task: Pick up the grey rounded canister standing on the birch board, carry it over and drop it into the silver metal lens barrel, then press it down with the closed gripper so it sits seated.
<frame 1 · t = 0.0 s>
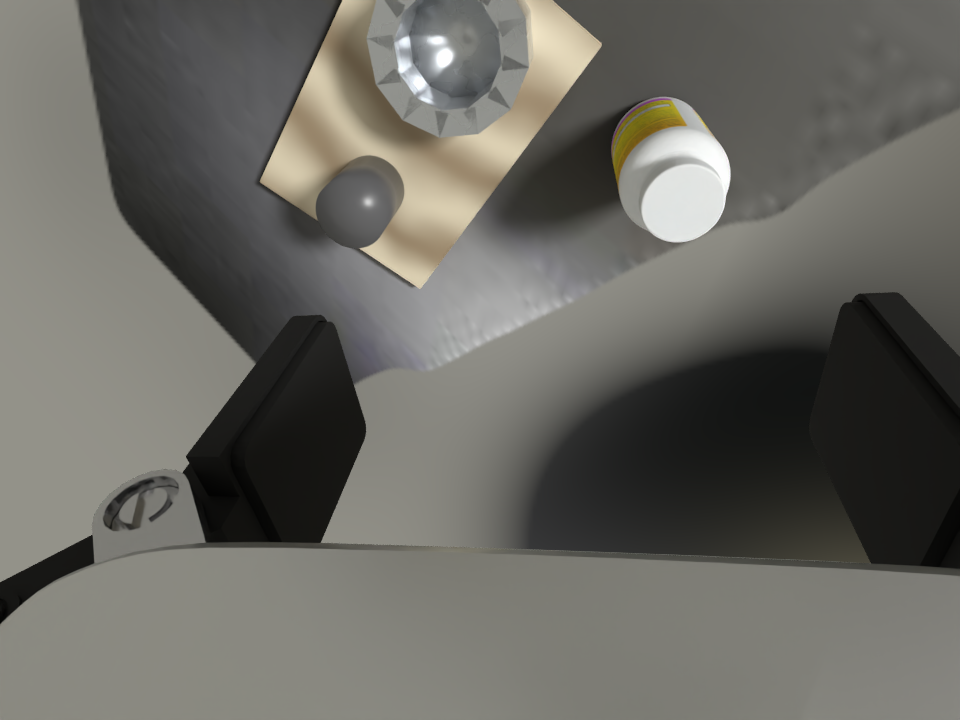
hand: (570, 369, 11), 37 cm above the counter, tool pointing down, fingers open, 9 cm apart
birch board: (416, 117, 44), on the counter
supplement bottle: (655, 141, 43), on the counter
grey rounded canister: (373, 187, 47), point 1 cm above the counter, touching birch board
lens barrel: (460, 42, 40), resting on birch board
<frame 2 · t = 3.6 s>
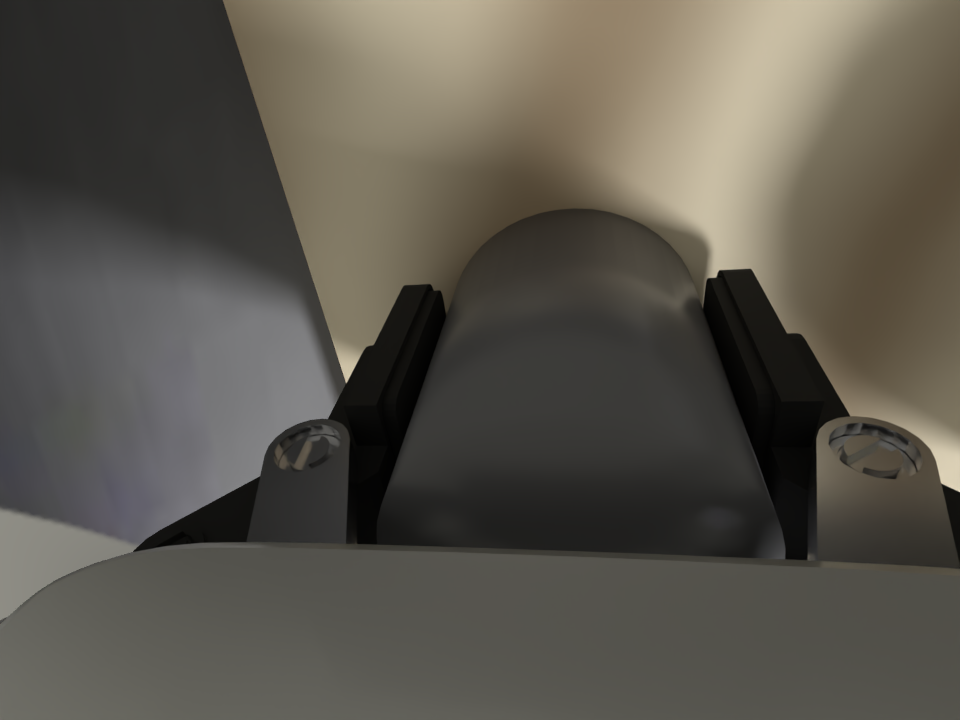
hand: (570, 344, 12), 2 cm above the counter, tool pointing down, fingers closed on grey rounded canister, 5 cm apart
birch board: (878, 283, 12), on the counter
grey rounded canister: (571, 324, 12), point 1 cm above the counter, touching birch board, gripper
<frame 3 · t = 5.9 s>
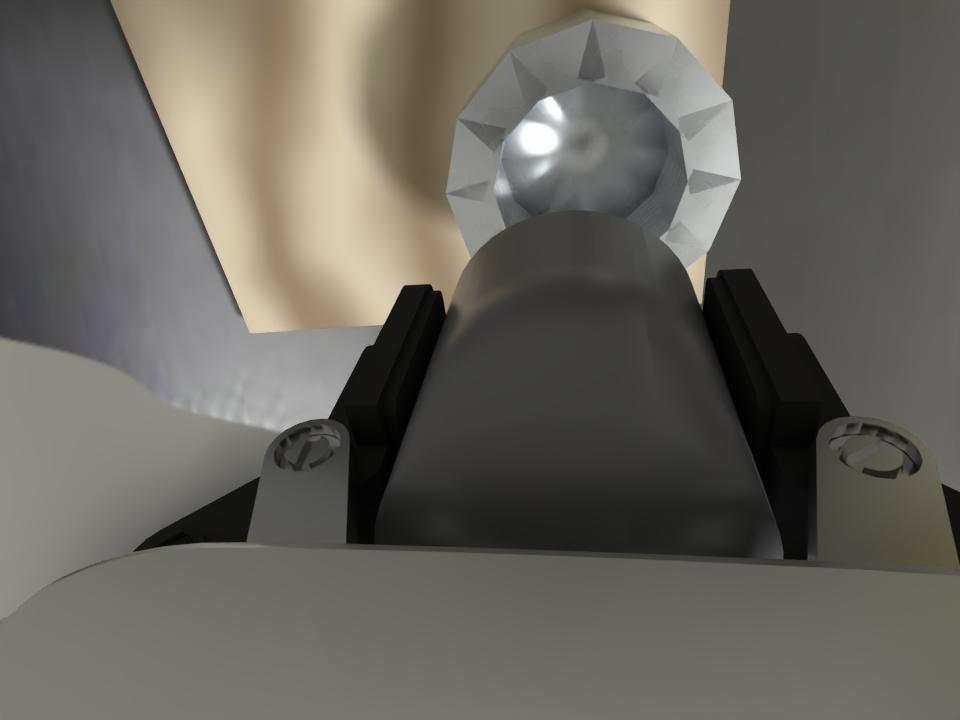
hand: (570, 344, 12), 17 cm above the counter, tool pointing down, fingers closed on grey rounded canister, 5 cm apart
birch board: (438, 157, 26), on the counter
grey rounded canister: (570, 326, 12), point 16 cm above the counter, touching gripper
lens barrel: (582, 149, 24), resting on birch board
when the fingers open (8 cm above the counter, at t = 8.3 s): grey rounded canister drops 5 cm, resting on lens barrel.
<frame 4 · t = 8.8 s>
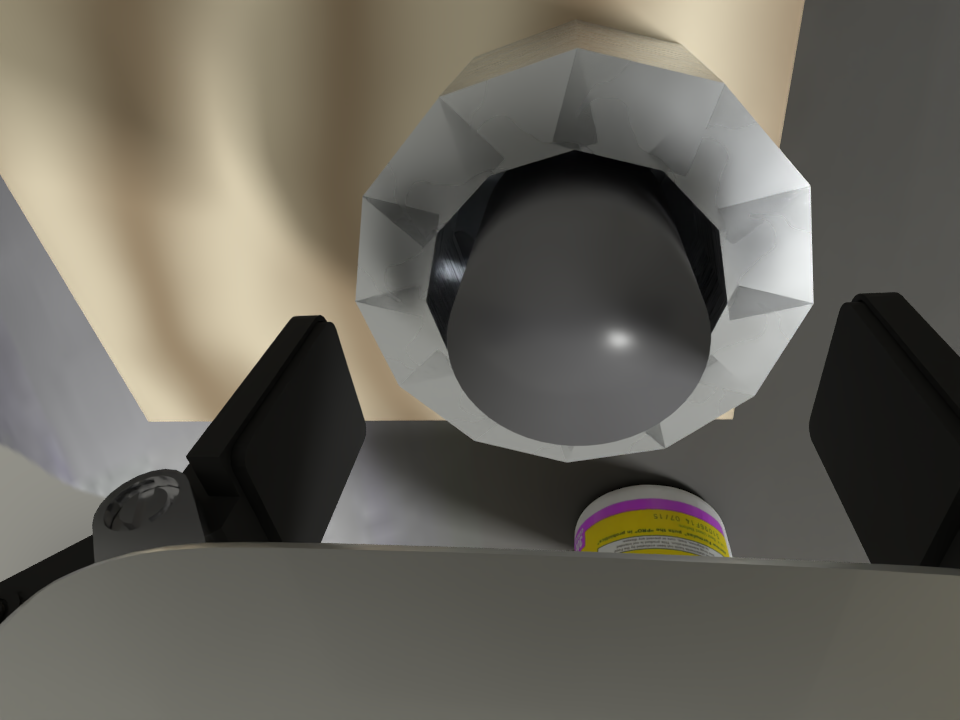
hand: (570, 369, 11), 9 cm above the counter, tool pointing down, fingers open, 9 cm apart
birch board: (376, 217, 19), on the counter
supplement bottle: (646, 523, 27), on the counter
grey rounded canister: (573, 232, 16), point 2 cm above the counter, touching lens barrel
lens barrel: (571, 218, 17), resting on birch board
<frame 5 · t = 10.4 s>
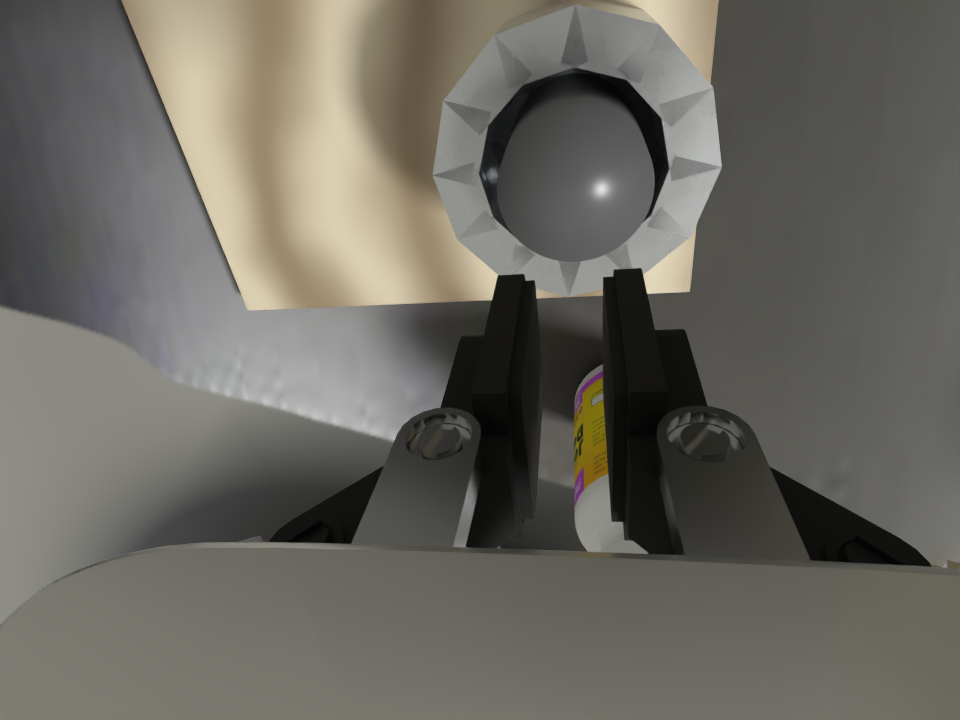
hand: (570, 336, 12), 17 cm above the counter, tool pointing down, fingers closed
birch board: (432, 140, 27), on the counter
supplement bottle: (629, 395, 34), on the counter
grey rounded canister: (573, 141, 24), point 2 cm above the counter, touching lens barrel
lens barrel: (572, 135, 25), resting on birch board
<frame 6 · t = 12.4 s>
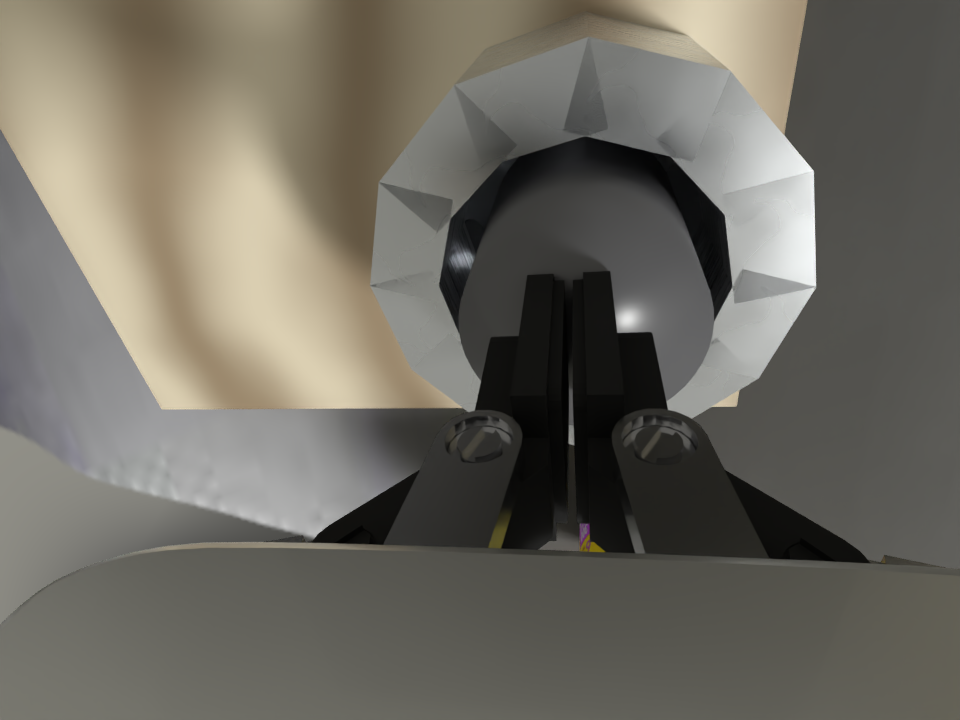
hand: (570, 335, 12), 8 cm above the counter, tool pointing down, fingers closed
birch board: (387, 207, 20), on the counter
supplement bottle: (650, 512, 27), on the counter
grey rounded canister: (581, 220, 17), point 2 cm above the counter, touching gripper, lens barrel
lens barrel: (579, 208, 18), resting on birch board
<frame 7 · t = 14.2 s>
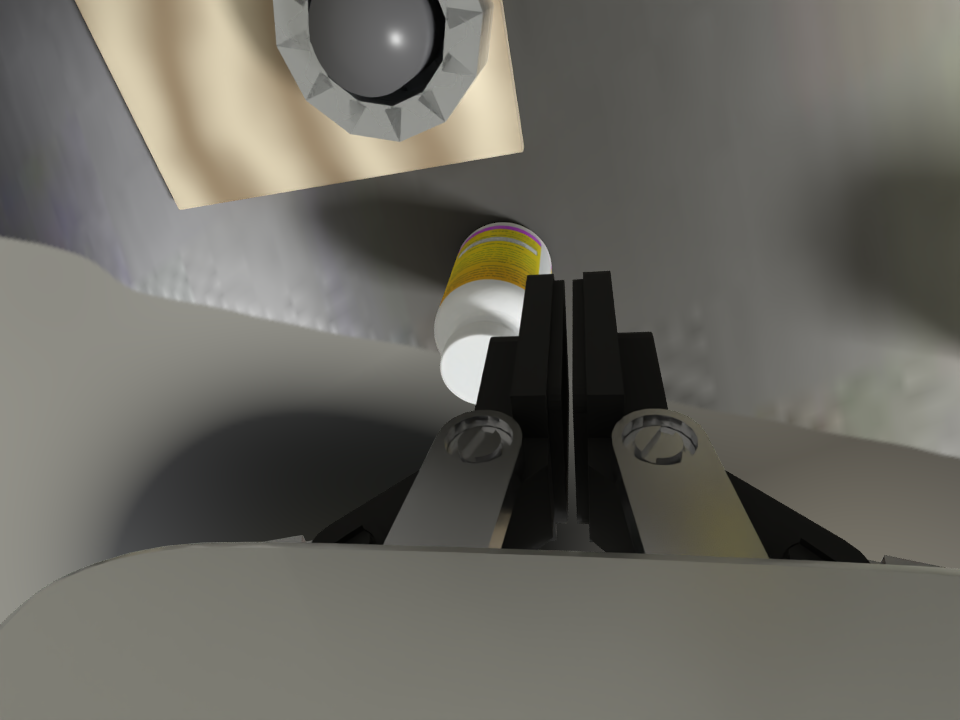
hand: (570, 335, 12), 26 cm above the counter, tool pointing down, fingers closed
birch board: (301, 42, 34), on the counter
supplement bottle: (504, 263, 40), on the counter
grey rounded canister: (397, 22, 30), point 2 cm above the counter, touching lens barrel
lens barrel: (400, 20, 31), resting on birch board
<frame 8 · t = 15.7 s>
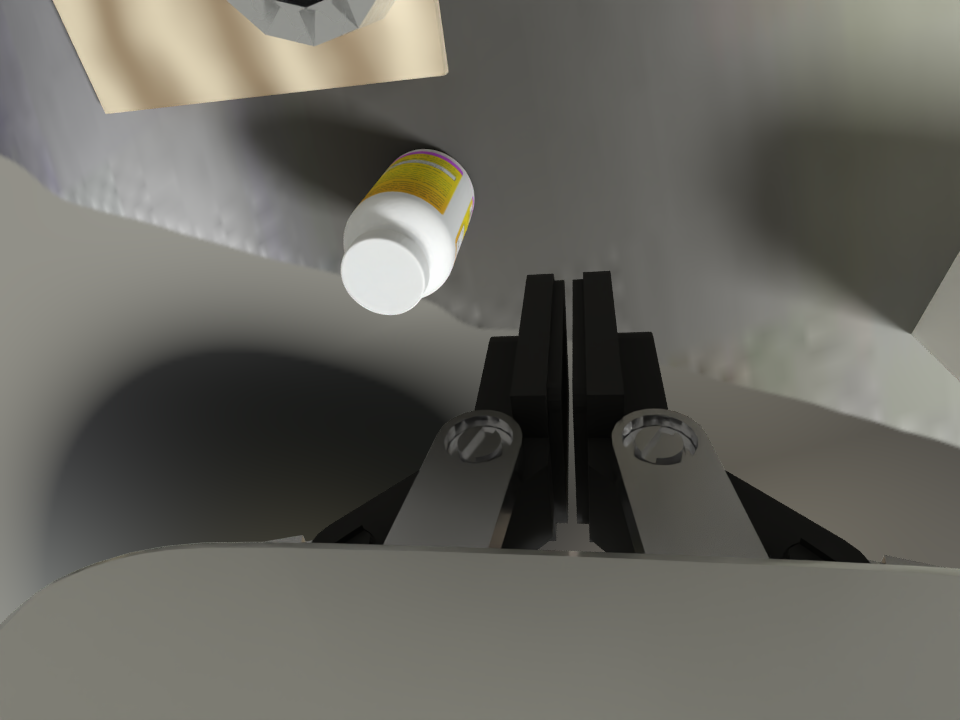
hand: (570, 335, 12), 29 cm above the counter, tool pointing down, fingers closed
supplement bottle: (430, 193, 41), on the counter
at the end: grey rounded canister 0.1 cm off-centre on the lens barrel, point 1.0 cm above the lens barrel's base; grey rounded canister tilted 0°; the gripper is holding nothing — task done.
